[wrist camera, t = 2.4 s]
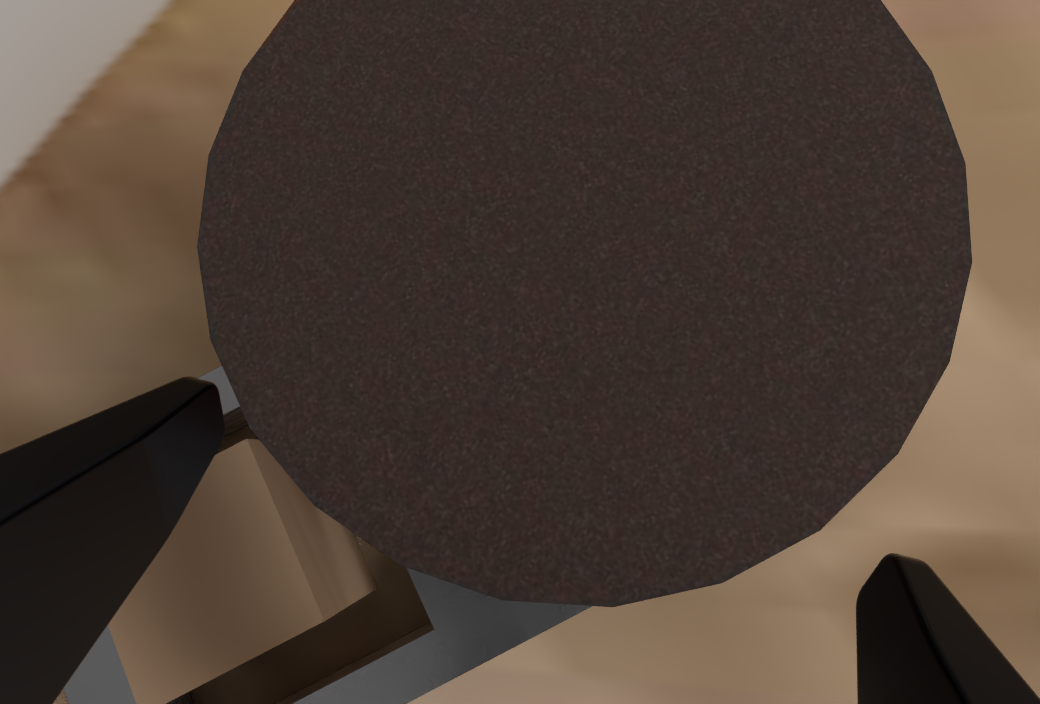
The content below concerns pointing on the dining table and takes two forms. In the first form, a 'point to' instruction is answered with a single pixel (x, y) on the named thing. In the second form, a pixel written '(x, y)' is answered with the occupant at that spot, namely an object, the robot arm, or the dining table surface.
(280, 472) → the walnut block
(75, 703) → the grey tray
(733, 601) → the dining table surface
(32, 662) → the robot arm
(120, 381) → the dining table surface
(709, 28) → the deodorant
